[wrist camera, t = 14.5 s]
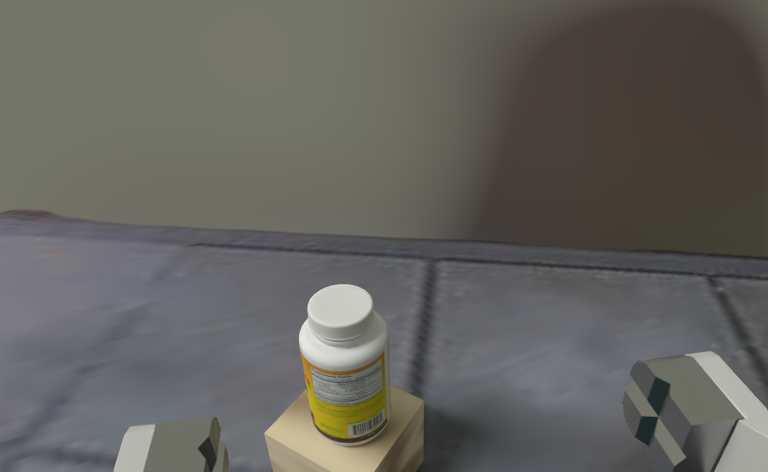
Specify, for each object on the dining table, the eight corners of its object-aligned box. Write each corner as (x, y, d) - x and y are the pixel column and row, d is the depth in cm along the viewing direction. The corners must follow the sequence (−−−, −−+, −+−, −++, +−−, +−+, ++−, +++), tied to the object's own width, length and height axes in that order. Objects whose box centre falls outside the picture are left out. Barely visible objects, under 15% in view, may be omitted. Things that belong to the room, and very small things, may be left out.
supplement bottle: (333, 377, 42) (321, 267, 36) (403, 398, 40) (400, 286, 34) (296, 435, 38) (275, 321, 32) (372, 462, 36) (363, 346, 30)
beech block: (340, 418, 47) (334, 359, 43) (423, 460, 44) (424, 400, 40) (278, 493, 42) (264, 433, 38) (367, 549, 38) (361, 489, 34)
